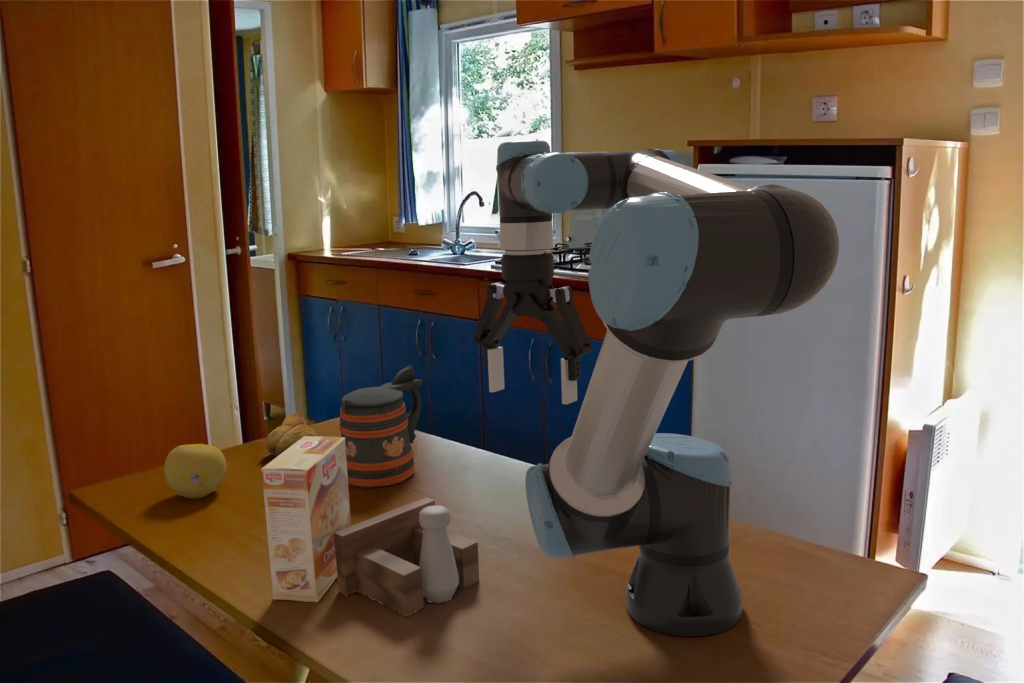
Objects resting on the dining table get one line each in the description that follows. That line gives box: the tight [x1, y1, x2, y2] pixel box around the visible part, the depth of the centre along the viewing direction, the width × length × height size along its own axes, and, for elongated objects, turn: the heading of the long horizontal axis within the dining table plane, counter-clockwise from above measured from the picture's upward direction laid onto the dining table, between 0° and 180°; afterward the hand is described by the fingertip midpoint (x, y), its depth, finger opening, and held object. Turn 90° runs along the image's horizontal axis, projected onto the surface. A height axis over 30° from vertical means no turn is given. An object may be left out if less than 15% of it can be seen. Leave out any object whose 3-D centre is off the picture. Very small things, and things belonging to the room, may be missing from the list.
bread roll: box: [266, 413, 318, 457], centre depth 185 cm, size 13×10×8 cm
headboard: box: [334, 496, 480, 617], centre depth 126 cm, size 13×17×9 cm
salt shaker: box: [419, 504, 459, 604], centre depth 122 cm, size 6×6×13 cm
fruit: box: [163, 443, 227, 500], centre depth 164 cm, size 10×11×10 cm
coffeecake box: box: [260, 435, 352, 603], centre depth 129 cm, size 15×7×20 cm, turn 170°
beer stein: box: [339, 365, 423, 489], centre depth 172 cm, size 19×15×20 cm
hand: (532, 396), depth 130 cm, fingers open, 13 cm apart
